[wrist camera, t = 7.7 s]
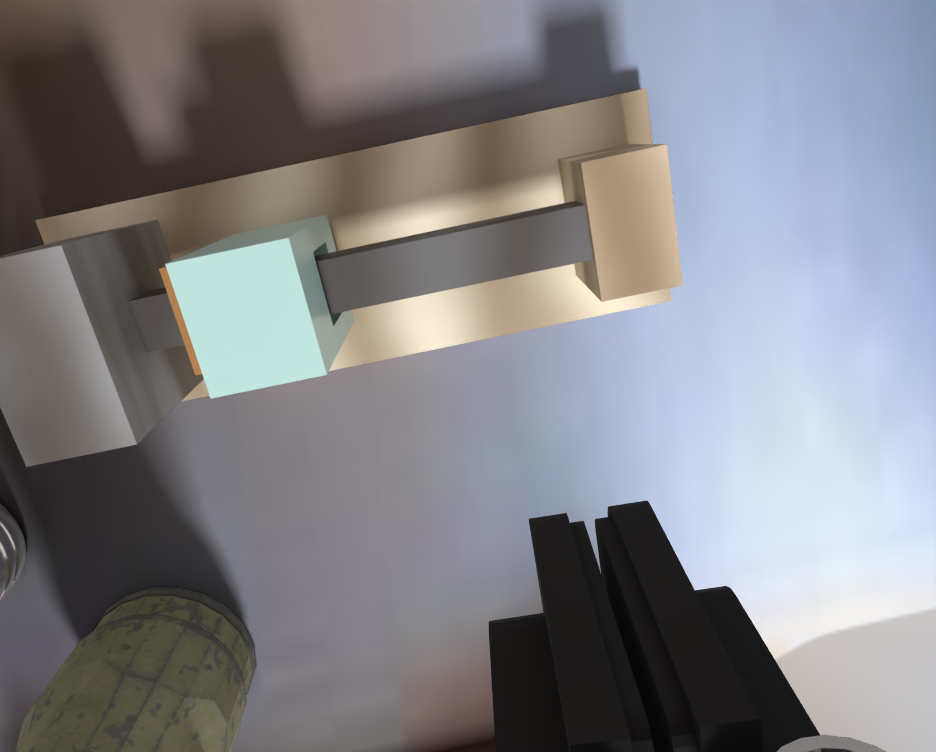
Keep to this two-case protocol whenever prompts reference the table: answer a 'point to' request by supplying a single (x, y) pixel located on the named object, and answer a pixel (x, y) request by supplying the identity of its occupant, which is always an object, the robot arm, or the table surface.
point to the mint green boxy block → (260, 307)
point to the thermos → (148, 680)
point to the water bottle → (10, 551)
